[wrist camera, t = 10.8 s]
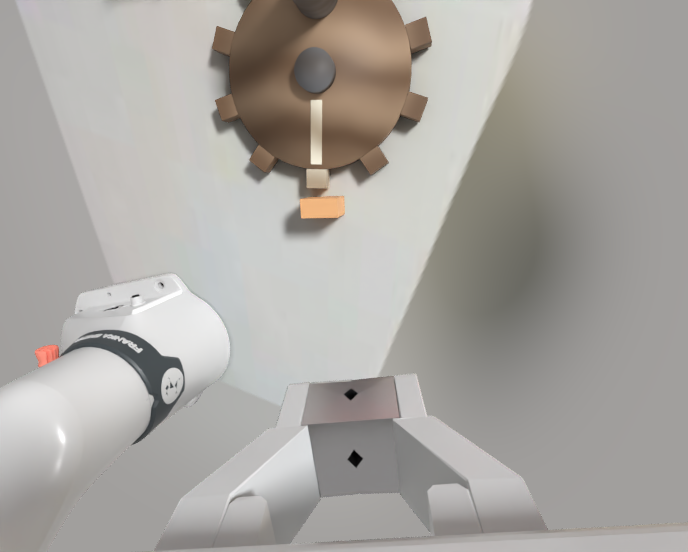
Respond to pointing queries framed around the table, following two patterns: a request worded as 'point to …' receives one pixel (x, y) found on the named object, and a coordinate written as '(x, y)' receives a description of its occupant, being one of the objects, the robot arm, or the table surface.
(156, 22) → the table surface
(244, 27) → the sprocket
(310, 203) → the orange wooden block
